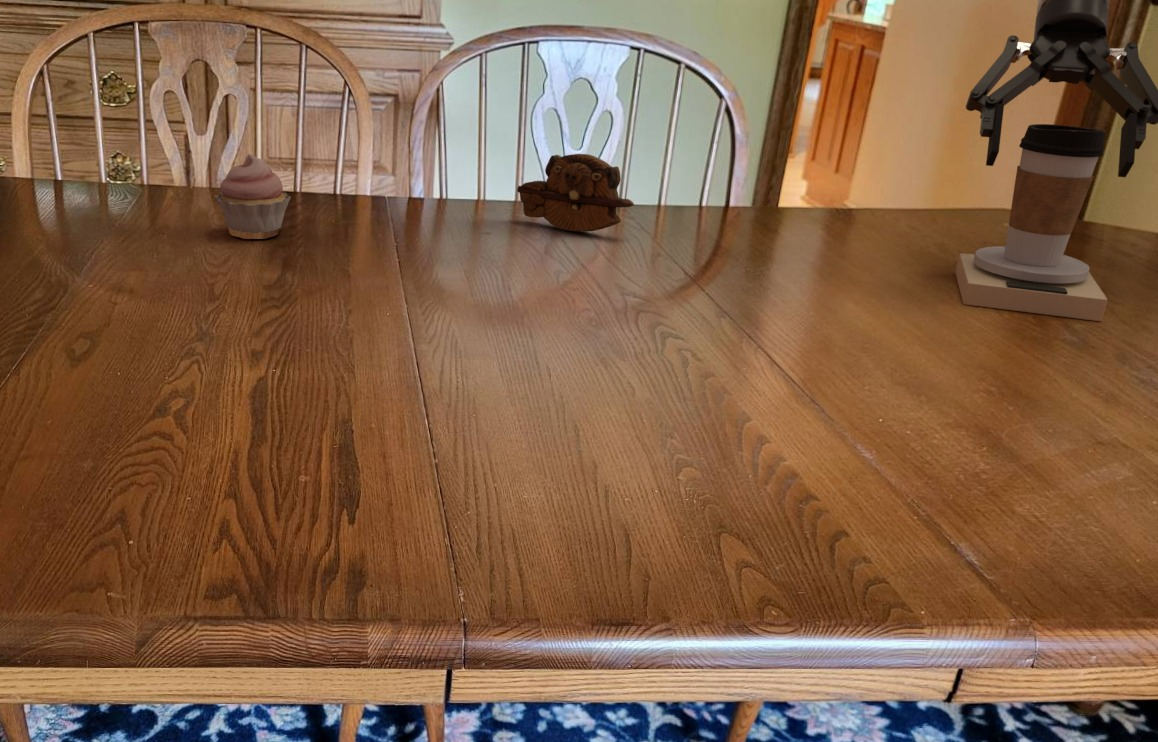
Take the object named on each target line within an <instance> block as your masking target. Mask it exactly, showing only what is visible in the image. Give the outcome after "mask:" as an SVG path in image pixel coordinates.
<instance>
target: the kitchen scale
mask: <svg viewBox="0 0 1158 742" xmlns="http://www.w3.org/2000/svg"><path fill="white" fill-rule="evenodd" d="M1004 251H1005V245H1003V246H1002V245H1001V246H1000V245H999V246H987V247H986V246H985V247H981V248H978V249H977V250H975V252H974V254H971V253H963V252H960V253H959V255H958V258H957V263H956V267H955V270H954V271H955V272H954V273H955V277H956V282H957V285H958V289H959V292H960V296H961V300H962V304H963V305H965V306H972V307H980V308H981V307H982V308H990V309H996V310H997V309H998V310H1004V311H1005V310H1006V311H1013V312H1014V311H1015V312H1020V313H1021V312H1023V313H1028V314H1029V313H1030V314H1037V315H1046V316H1054V317H1062V318H1070V319H1079V320H1085V321H1094V322H1102V320H1103V318H1104V314H1105V311H1106V308H1107V304H1108V301H1109V299H1108V298H1107V296H1106V294H1105V293H1104V292H1103V290H1102V289H1101V287H1100V286H1099V284H1098V283H1097V282H1096V280H1095V279H1094V277H1093V276H1092V274H1091V272H1090V269H1091V268H1090V266H1089V265H1088V264H1087V263H1086V262H1084V261H1082V260H1080V259H1077V258H1075V257H1073V256H1068V255H1066V254H1063V257H1062V259H1061V262H1060V264H1059V265H1057V266H1051V267H1042V266H1032V265H1025V264H1021V263H1017V262H1013V261H1010V260H1008V259H1006V258H1005V257H1004Z"/></svg>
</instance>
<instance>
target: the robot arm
mask: <svg viewBox="0 0 1158 742" xmlns="http://www.w3.org/2000/svg"><path fill="white" fill-rule="evenodd" d="M1110 1H1111V0H1037V6H1036V16H1035V23H1034V31H1033V32H1034V33H1033V41H1032V42H1031V43H1030V42H1023V41H1020V38H1019V37H1018V36H1017V35H1012V34H1011V35H1009V36H1008V37H1007V39H1006V43H1005V45H1004V48H1003V50H1002V52H1001V53H1000V55H999V56H998V57H997V58H996V60H995V61H994V62H993V63H992V65H991V66H990V67H989V68H988V69H987V71H986V72H985V73H984V74H983V75H982V77H981V78H980V79H979V80H978V82H977V83H976V85H974V86H973V87H972V89H971V90H970V92H969V95H968V98H967V101H966V104H965V109H966V110H967V111H968V112H973V111H977V112H978V113H980V115H979V118H980V127H979V135H980V138H988V143H987V144H988V145H987V152H986V161H985V166H987V167H994V164H995V162H996V160H997V157H998V155H999V153H1000V147H1001V146H1000V145H1001V137H1002V127H1003V119H1004V118H1003V117H1004V109H1005V106H1006V105H1007V104H1009V103H1010V102H1012V101H1013V100H1014V99H1015V98H1017V97H1018V96H1019V95H1021V94H1022V93H1023V92H1025V91H1027V90H1028V89H1029V88H1030V87H1034V86H1035V85H1037V84H1038V83H1040V82H1041V81H1042V80H1044V79H1046V80H1048V83H1062V82H1064V83H1066V84H1067V83H1068V84H1071V85H1079V83H1081V82H1082V83H1083V84H1084V85H1085V86H1086V87H1087V88H1088V89H1089V90H1090V91H1095V93H1097V94H1098V95H1099V96H1100V97H1101V99H1102V100H1104V101H1105V102H1106V103H1107V104H1108V105H1109V106H1110V107H1111V108H1112V109H1113V110H1114V111H1115V112H1116V113H1117V114H1118V116H1120V118H1122V120H1123V121H1124V123H1123V124H1122V127H1121V128H1120V129H1121V130H1120V141H1119V142H1120V143H1119V156H1118V157H1119V158H1118V170H1117V171H1118V172H1117V177H1118V178H1127V176H1128V174H1129V173H1130V171H1131V169H1132V167H1133V165H1134V164H1135V157H1136V150H1139V149H1140V148H1141V146H1143V144H1144V142H1145V140H1146V137H1147V124H1149V125H1154V126H1155V125H1157V124H1158V88H1157V86H1156V84H1155V82H1154V81H1153V79H1152V77H1151V75H1150V74H1149V73H1148V71H1147V69H1146V68H1145V66H1144V64H1143V62H1142V61H1141V59H1140V56H1139V45H1138V44H1137V43H1136V42H1134V41H1130V42H1127V43H1126V44H1125V46H1124V47H1111V46H1110V45H1109V44H1108V41H1107V37H1108V28H1109V27H1108V24H1109V13H1110V12H1109V9H1110ZM1024 56H1025V57H1027V59H1028V60H1029V62H1030V64H1028V66H1026V67H1025V68H1024V69H1022V70H1021V71H1020V72H1019V73H1017V74H1016V75H1014V76H1013V77H1012V78H1010V79H1009V80H1007V81H1006V82H1004V83H1003V84H1002V85H1001V86H999V87H997V89H995V90H994V91H993V92H992V93H990V92H991V91H992V90H993V89H994V87H995V86H996V85H997V84H998V82H999V81H1000V80H1001V79H1002V78H1003V77H1004V75H1005V74H1006V73H1007V72H1008V70H1009V69H1010V67H1011V65H1012V64H1015V63H1017V62H1018V61H1020V60H1021V58H1022V57H1024ZM1107 61H1109V62H1111V63H1112V64H1113V65H1114V70H1117V71H1118V70H1119V75H1120V77H1121V79H1122V80H1121V79H1120V78H1119V77H1118V76H1117V75H1116V74H1115V73H1114V72H1113V71H1112V70H1111V65H1110V64H1109V63H1108V62H1107Z"/></svg>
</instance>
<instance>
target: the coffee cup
mask: <svg viewBox="0 0 1158 742" xmlns="http://www.w3.org/2000/svg"><path fill="white" fill-rule="evenodd" d="M1106 132H1107V131H1106V130H1104V129H1097V128H1087V127H1080V126H1071V125H1064V124H1049V123H1034V124H1030V125H1028V126H1027V128H1026V131H1025V133H1024V135H1023V137H1022V138H1021V139H1020V143H1019V145H1018V147H1019V148H1021V149H1022V150H1021V155H1020V160H1019V165H1017V166H1016V173H1015V181H1014V186H1013V193H1012V200H1011V206H1010V207H1011V208H1010V214H1009V221H1008V229H1007V233H1006V234H1007V235H1006V239H1005V245H1004V246H1005V251H1004V257H1005V258H1006V259H1008V260H1010V261H1013V262H1017V263H1021V264H1025V265H1032V266H1042V267H1051V266H1057V265H1059V264H1060V262H1061V259H1062V257H1063V255H1065V254H1064V253H1065V252H1066V249H1067V245H1068V243H1069V239H1070V238H1071V234H1072V233H1073V230H1074V228H1075V225H1076V223H1077V220H1078V217H1079V215H1080V212H1081V210H1082V207H1083V205H1084V202H1085V199H1086V197H1087V194H1088V192H1089V189H1090V187H1091V184H1092V182H1093V179H1094V177H1095V175H1094V171H1095V168H1096V165H1097V163H1098V160H1099V158H1100V157H1103V156H1104V151H1105V147H1104V145H1105V144H1104V143H1105V138H1106Z"/></svg>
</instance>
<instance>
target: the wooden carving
mask: <svg viewBox="0 0 1158 742" xmlns="http://www.w3.org/2000/svg"><path fill="white" fill-rule="evenodd" d="M544 171H545V175H546V177H547V178H546V181H545V180H533V181H529V182H527V181H526V182H524V183H523V184H521V185H518V186H517V191H516V192H517V193H518V194H519V199H520V201H521V202H522V210H523V214H524V216H525V217H528V218H544V220H545V221H547V222H548V223H549V224H551V225H552V226H554V227H556V228H559V229H561V230H564V231H570V232H583V233H584V232H585V233H586V232H594V231H595V232H596V231H600V230H604V229H607V228H610V227H613V226H616V225H617V224H620V223H621V221H622V219H621V218H620V217H619V216H618V214H617V208H631V207H633V206H634V205H635V203H634V202H633V200H631V199H629V198H621V197H620V195H619V191H618V187H619V185H620V184H621V181H622V179H621V171H620V168H619V166H612V165H610V164H609V163H608V162H606V161H605V160H604V159H602V158H599V157H598V156H595V155H592V154H588V153H575V154H567V155H563V156H562V155H560V154H555V155H551V156H550V157H549V159H548V162H547V164H546V166H545V169H544Z"/></svg>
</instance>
